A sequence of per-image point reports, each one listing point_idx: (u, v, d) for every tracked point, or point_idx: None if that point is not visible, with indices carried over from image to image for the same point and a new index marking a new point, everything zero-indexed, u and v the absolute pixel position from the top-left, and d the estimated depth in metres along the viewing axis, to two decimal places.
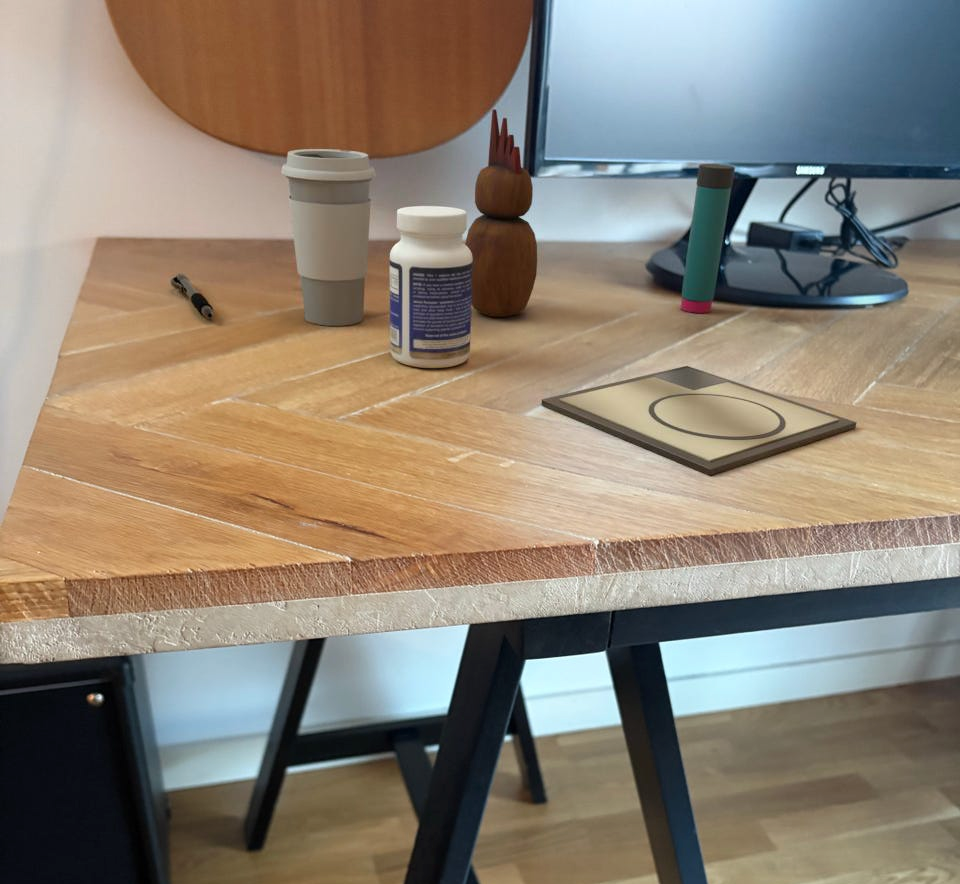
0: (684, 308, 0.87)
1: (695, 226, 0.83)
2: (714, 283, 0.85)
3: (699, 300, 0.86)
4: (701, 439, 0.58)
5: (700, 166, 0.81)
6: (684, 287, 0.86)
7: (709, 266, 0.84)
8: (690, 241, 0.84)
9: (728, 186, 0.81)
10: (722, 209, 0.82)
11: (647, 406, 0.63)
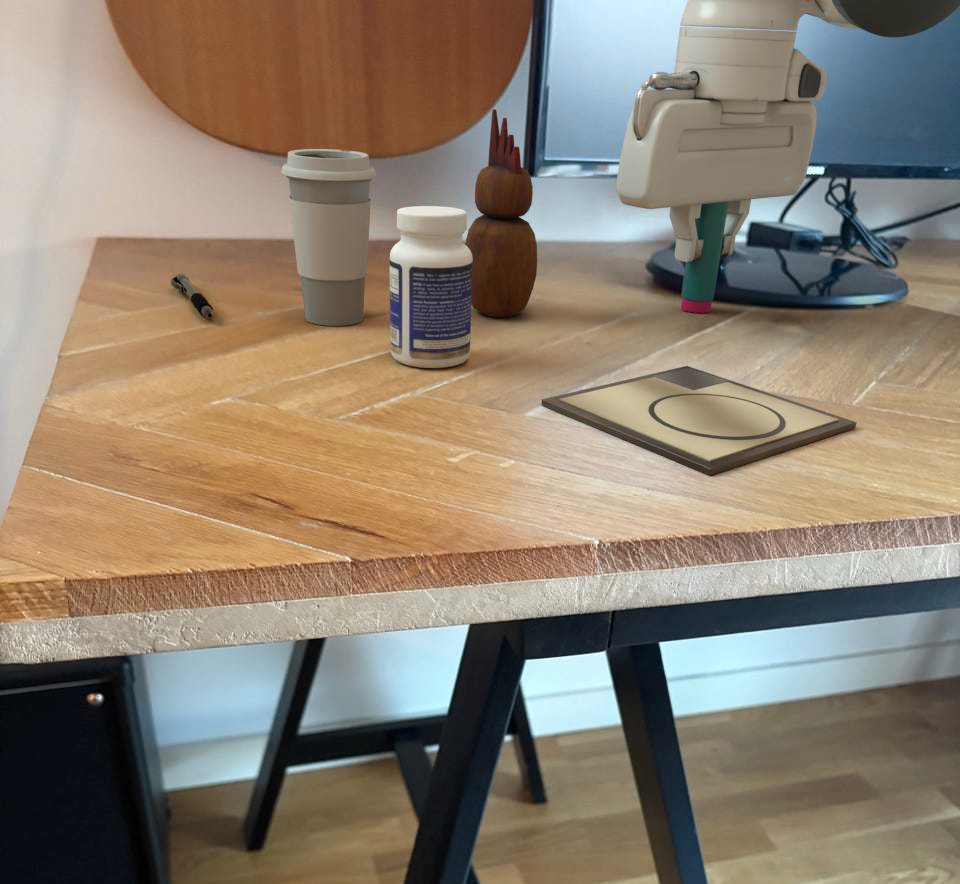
0: (684, 308, 0.87)
1: None
2: (714, 283, 0.85)
3: (699, 300, 0.86)
4: (701, 439, 0.58)
5: None
6: (684, 287, 0.86)
7: (709, 266, 0.84)
8: None
9: None
10: (722, 209, 0.82)
11: (647, 406, 0.63)
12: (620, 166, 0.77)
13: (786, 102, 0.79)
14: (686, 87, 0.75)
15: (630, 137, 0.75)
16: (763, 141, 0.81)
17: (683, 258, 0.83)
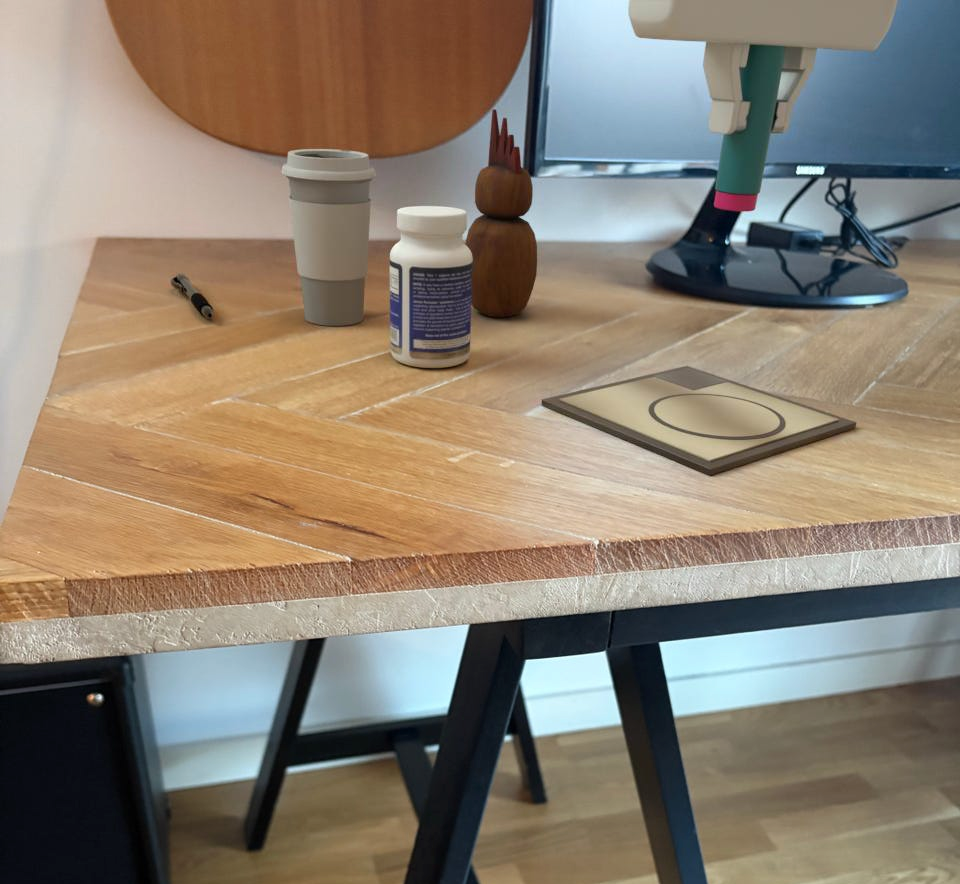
0: (719, 205, 0.63)
1: None
2: (762, 168, 0.61)
3: (740, 192, 0.62)
4: (701, 439, 0.58)
5: None
6: (720, 175, 0.62)
7: (755, 141, 0.60)
8: None
9: None
10: (777, 57, 0.58)
11: (647, 406, 0.63)
12: None
13: None
14: None
15: None
16: None
17: (721, 129, 0.59)
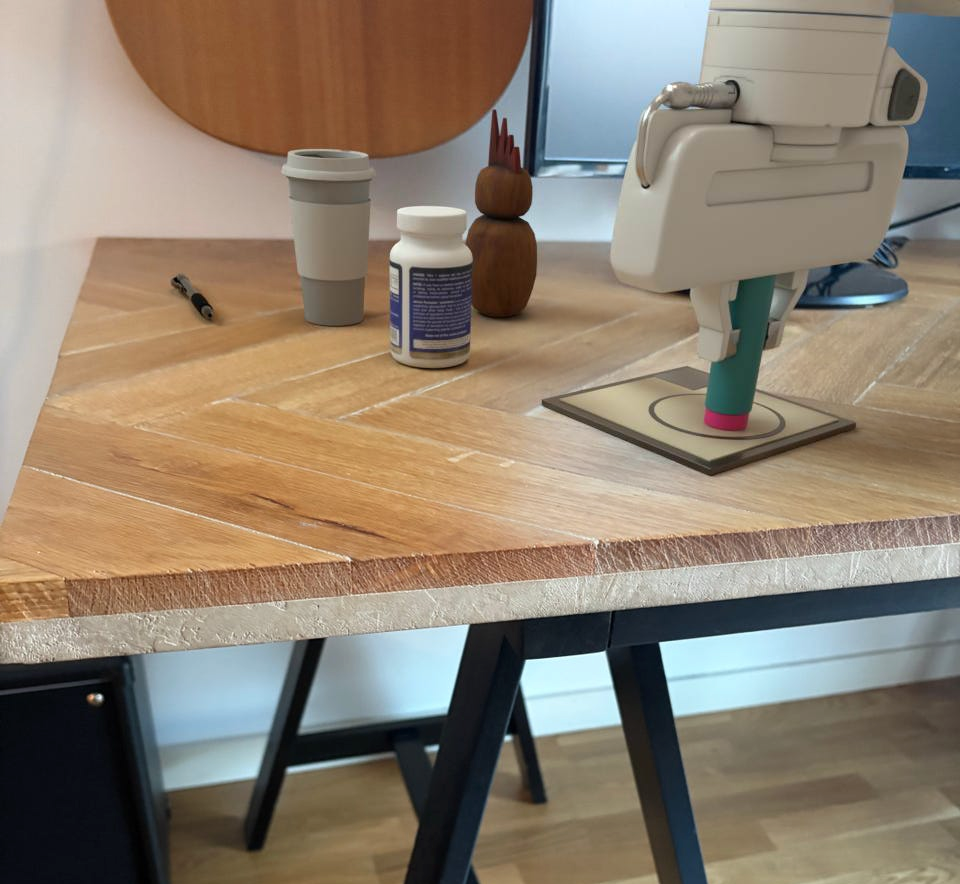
0: (709, 423, 0.60)
1: None
2: (753, 389, 0.58)
3: (731, 413, 0.59)
4: (701, 439, 0.58)
5: None
6: (709, 394, 0.59)
7: (746, 365, 0.57)
8: None
9: None
10: (767, 285, 0.55)
11: (647, 406, 0.63)
12: (616, 227, 0.50)
13: (868, 127, 0.52)
14: (719, 105, 0.48)
15: (631, 183, 0.48)
16: (831, 184, 0.54)
17: (710, 356, 0.56)
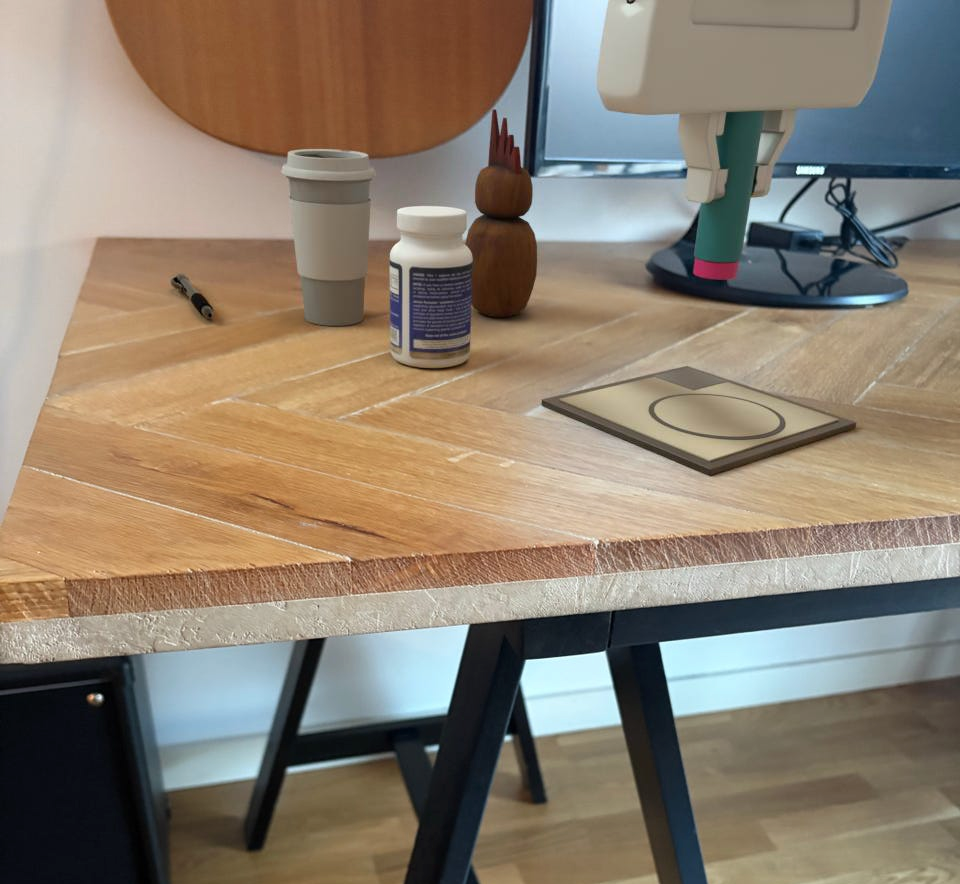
0: (698, 273, 0.60)
1: None
2: (742, 235, 0.58)
3: (721, 260, 0.59)
4: (701, 439, 0.58)
5: None
6: (698, 242, 0.59)
7: (735, 208, 0.57)
8: None
9: None
10: (755, 122, 0.55)
11: (647, 406, 0.63)
12: (602, 49, 0.50)
13: None
14: None
15: (617, 0, 0.48)
16: (817, 18, 0.54)
17: (698, 197, 0.56)
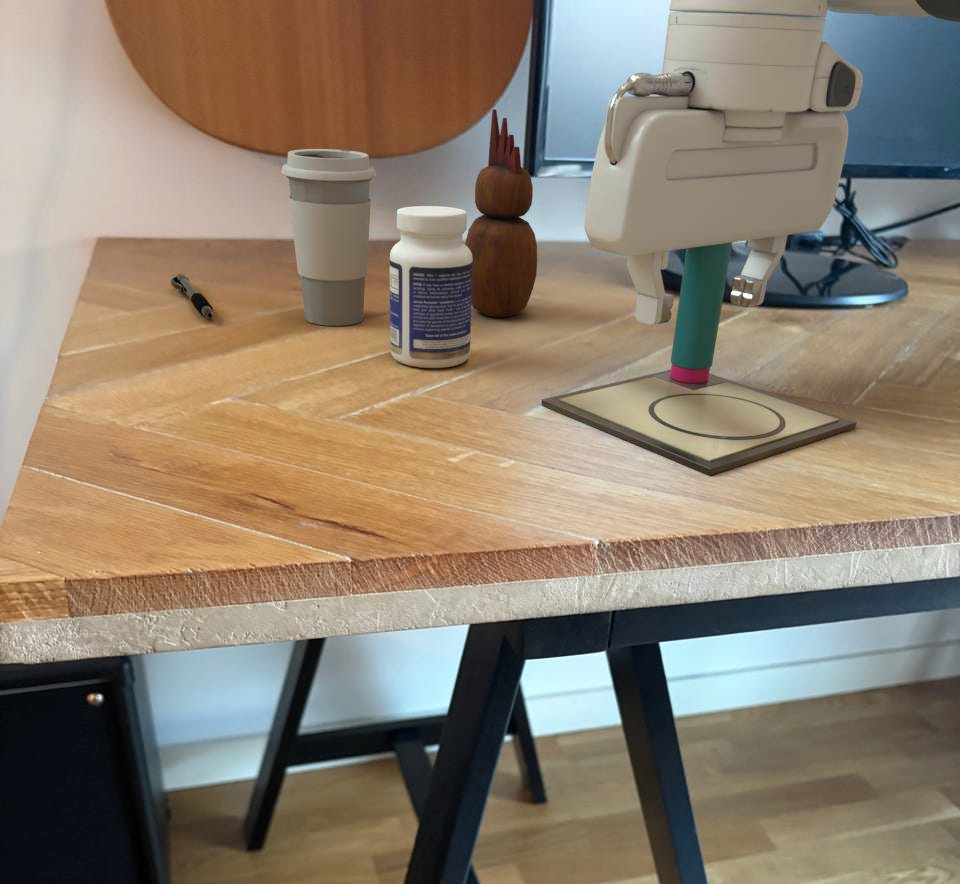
0: (674, 377, 0.67)
1: (688, 274, 0.64)
2: (713, 346, 0.66)
3: (693, 368, 0.66)
4: (701, 439, 0.58)
5: None
6: (674, 350, 0.67)
7: (706, 324, 0.65)
8: (682, 293, 0.65)
9: None
10: (723, 253, 0.63)
11: (647, 406, 0.63)
12: (589, 199, 0.57)
13: (810, 113, 0.60)
14: (677, 93, 0.56)
15: (602, 160, 0.56)
16: (779, 163, 0.62)
17: (647, 320, 0.63)
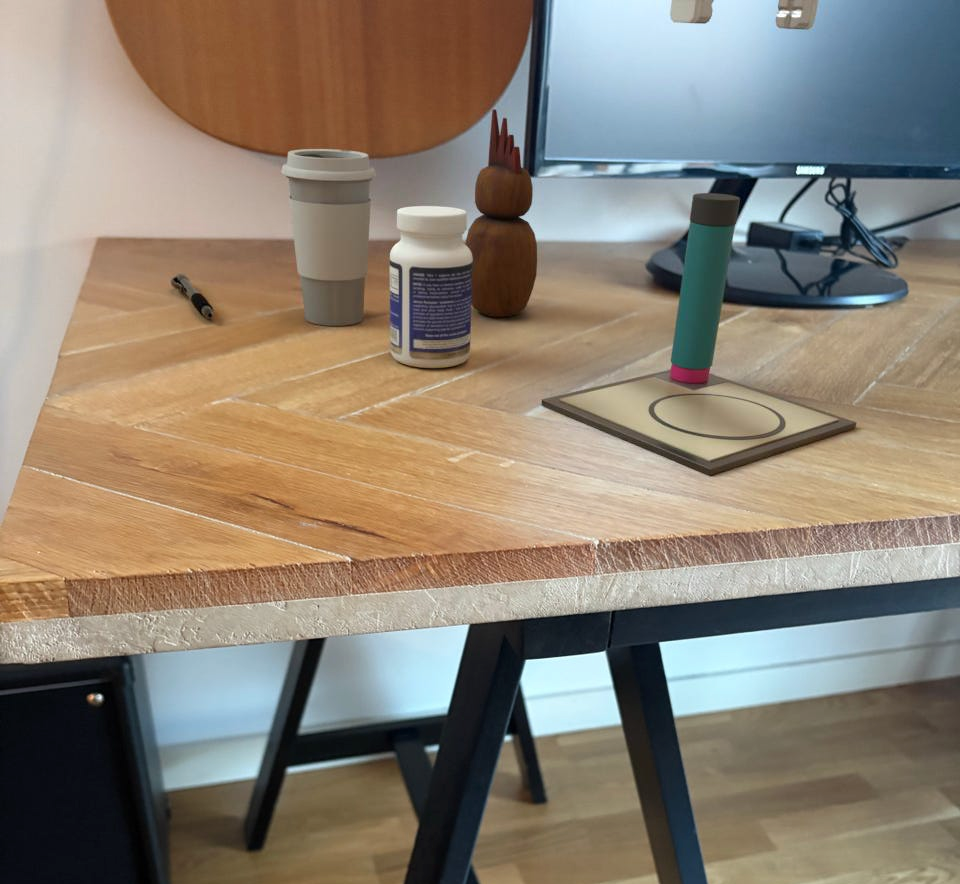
0: (674, 377, 0.67)
1: (688, 274, 0.64)
2: (713, 346, 0.66)
3: (693, 368, 0.66)
4: (701, 439, 0.58)
5: (694, 197, 0.62)
6: (674, 350, 0.67)
7: (706, 324, 0.65)
8: (682, 293, 0.65)
9: (731, 223, 0.62)
10: (723, 253, 0.63)
11: (647, 406, 0.63)
12: None
13: None
14: None
15: None
16: None
17: (684, 17, 0.54)
